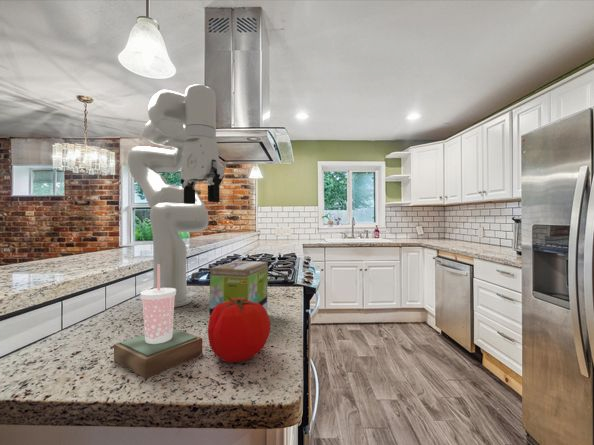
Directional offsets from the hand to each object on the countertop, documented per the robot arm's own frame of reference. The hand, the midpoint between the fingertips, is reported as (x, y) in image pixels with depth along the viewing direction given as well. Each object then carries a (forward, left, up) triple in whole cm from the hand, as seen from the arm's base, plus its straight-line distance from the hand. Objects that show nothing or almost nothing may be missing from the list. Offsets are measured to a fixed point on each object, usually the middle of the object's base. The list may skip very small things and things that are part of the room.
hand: (201, 202), depth 77 cm
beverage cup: (+11, -18, -27) cm, 34 cm away
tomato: (+24, -10, -31) cm, 40 cm away
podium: (+11, -18, -30) cm, 37 cm away
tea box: (+9, +5, -31) cm, 32 cm away
